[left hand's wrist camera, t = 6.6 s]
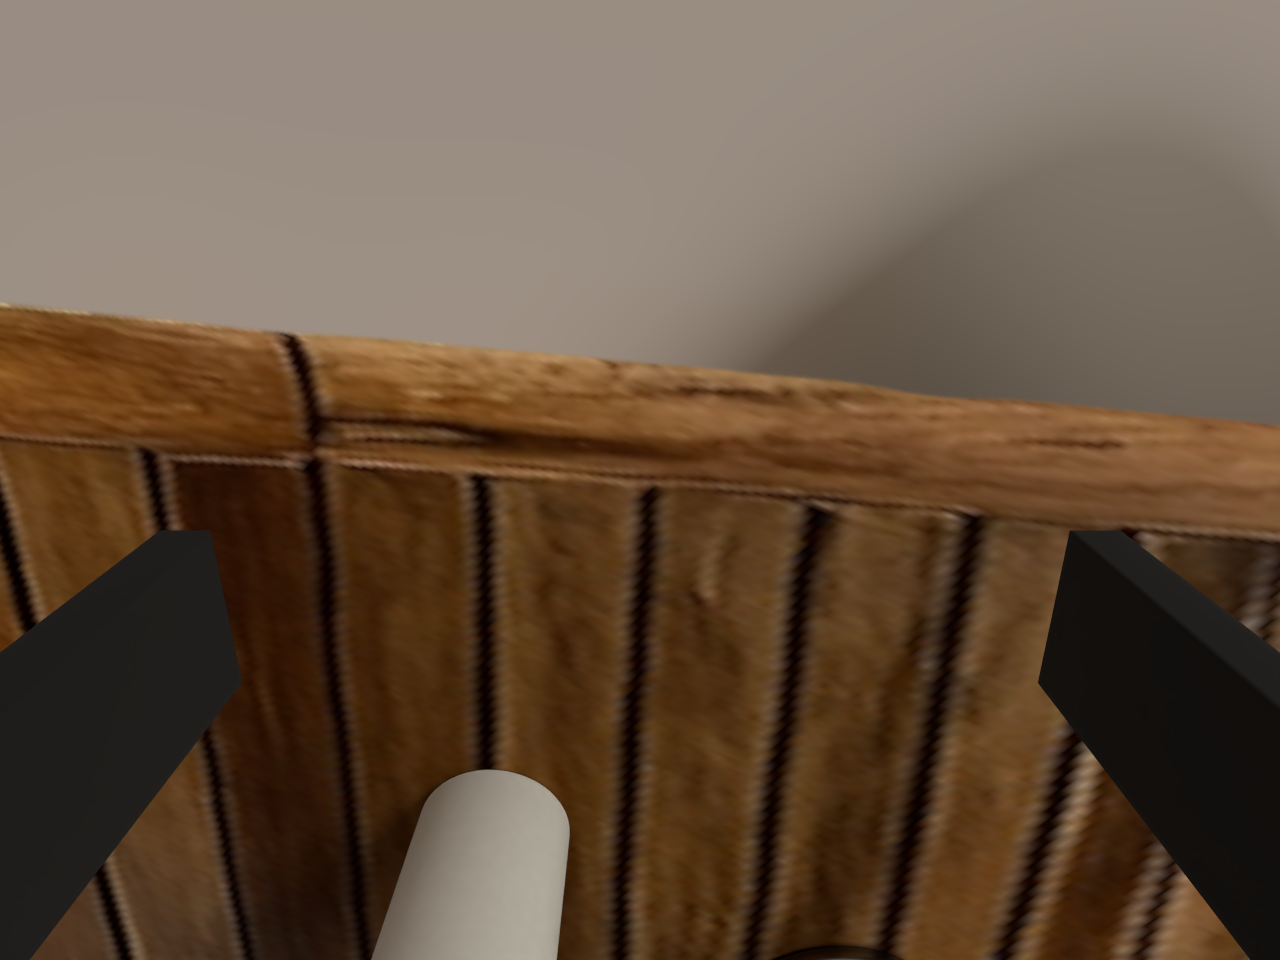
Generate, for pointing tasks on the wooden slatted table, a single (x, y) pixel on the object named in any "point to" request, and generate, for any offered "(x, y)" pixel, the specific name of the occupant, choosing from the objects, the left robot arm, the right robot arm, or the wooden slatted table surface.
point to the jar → (481, 874)
